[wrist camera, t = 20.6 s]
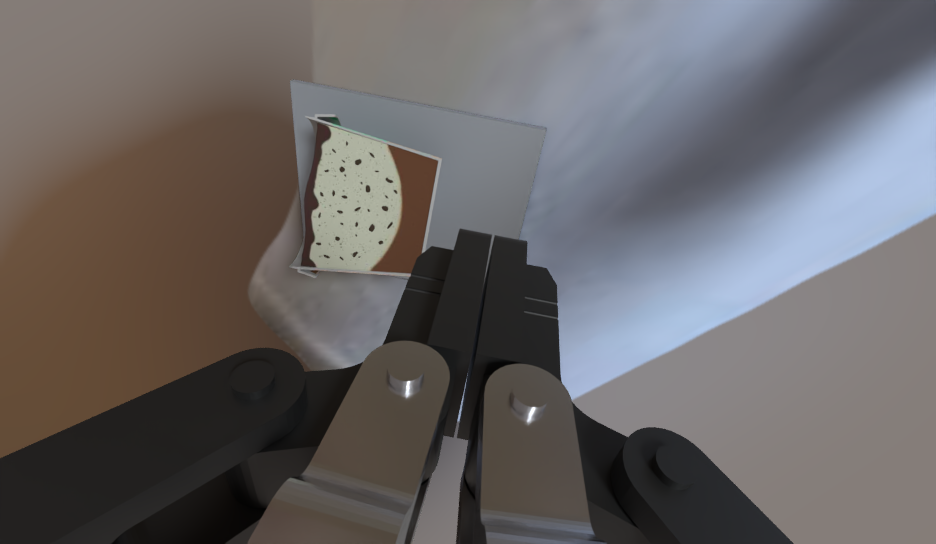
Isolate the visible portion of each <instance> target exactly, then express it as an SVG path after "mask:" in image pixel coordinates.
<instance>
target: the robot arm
mask: <svg viewBox="0 0 936 544" xmlns="http://www.w3.org/2000/svg"><path fill="white" fill-rule="evenodd" d="M491 238H492V235H491V234H486V233H481V232H476V231H471V230H466V229H461V228H460V229H459V232H458V236H457V240H456V243H455V247H454V250H450V249H445V248H440V247H435V246H431V247H430V248H428V249H427V250H426V251H425V252H423V253H422V254H421V255H420V256H418V257H417V259H416V262H415V264H414V267H413V269H412V272H411V276H410V277H409V280H408V282H407V285H406V289H405V290H404V293H403V295H402V298H401V300H400V303H399V305H398V308H397V311H396V313H395V316H394V318H393V321H392V323H391V326H390V329H389V331H388V334H387V336H386V339H385V341H384V343H383V345H382V346H380V347H378V348H376V349H375V350H374V351H372V352H371V353H370V354H369V355H368V356H367V357H366V359H365V360H364V362H362V363H360V364H358V365H355V366H352V367H348V368H344V369H336V370H323V371H309V372H304V369H303V366H302V365H301V363H300V362H299V361H298V360H297V359H296V358H295V357H294V356H292V355H291V354H289V353H287V352H285V351H282V350H278V349H273V348H256V349H249V350H245V351H242V352H239V353H236V354H234V355H231V356H229V357H227V358H225V359H222V360H220V361H218V362H216V363H213V364H211V365H209V366H207V367H205V368H202V369H200V370H198V371H196V372H193V373H191V374H189V375H187V376H184V377H182V378H180V379H178V380H175V381H173V382H171V383H168V384H166V385H164V386H162V387H160V388H157V389H155V390H153V391H150V392H148V393H146V394H144V395H142V396H139V397H137V398H135V399H133V400H130V401H128V402H126V403H124V404H121V405H119V406H117V407H115V408H112V409H110V410H108V411H106V412H103V413H101V414H99V415H97V416H94V417H92V418H90V419H88V420H85V421H83V422H81V423H79V424H76V425H74V426H72V427H70V428H67V429H65V430H63V431H61V432H58V433H56V434H54V435H52V436H49V437H47V438H45V439H43V440H40V441H38V442H36V443H34V444H31V445H29V446H27V447H25V448H22V449H20V450H18V451H16V452H14V453H11V454H9V455H7V456H5V457H3V458H0V544H412V542H413V539H414V536H415V532H416V529H417V525H418V522H419V518H420V514H421V512H422V508H423V505H424V501H425V498H426V494H427V491H428V487H429V484H430V480H431V476H432V473H433V472H434V470H435V468H436V466H437V463H438V460H439V455H440V450H441V445H442V440H443V435H444V436H449V437H454V432H455V428H456V423H457V419H458V414H459V410H460V405H461V401H462V396H463V392H464V387H465V383H466V388H465V394H464V399H463V405H462V411H461V417H460V423H459V429H458V435H457V438H461V439H465V440H468V446H467V453H466V460H465V465H464V469H463V473H462V477H461V482H460V493H459V507H458V522H457V536H456V544H793V543H792V542H791V541H790V539H789V538H787V537H786V535H785V534H784V533H783V532H781V530H780V529H778V528H777V526H776V525H775V524H773V522H772V521H771V520H769V518H768V517H767V516H766V515H765V514H764V513H763V512H762V511H761V510H760V509H759V508H758V507H757V506H756V505H755V504H754V503H753V502H752V501H751V500H750V499H749V498H748V497H747V496H746V495H745V494H744V493H743V492H742V491H741V490H740V489H739V488H738V487H737V486H736V485H735V484H734V483H733V482H732V481H731V480H730V479H729V478H728V477H727V476H726V475H725V474H724V473H723V472H722V471H721V470H720V469H719V468H718V467H717V466H716V465H715V464H714V463H713V462H712V461H711V460H710V459H709V458H708V457H707V456H706V455H705V454H704V453H703V452H702V451H701V450H700V449H699V448H698V447H696V446H695V445H694V444H693V443H691V442H690V441H689V440H687V439H686V438H684V437H682V436H680V435H678V434H676V433H674V432H672V431H669V430H666V429H662V428H655V427H654V428H650V427H649V428H643V429H640V430H637V431H635V432H634V433H632V434H631V435H630V436H629V437H626V436H624V435H622V434H620V433H618V432H616V431H614V430H612V429H610V428H608V427H606V426H604V425H602V424H600V423H598V422H596V421H595V420H593V419H591V418H590V417H588V416H587V415H585V414H584V413H582V411H580V410H579V409H578V408H577V407H576V406H575V405H574V404H573V402H572V401H571V397H570V395H569V393H568V391H567V389H566V388H565V386H564V385H563V384H562V382H561V375H560V352H559V328H558V320H557V319H558V306H557V285H556V283H555V281H554V280H553V278H552V276H551V275H550V273H549V271H548V270H547V268H542V267H537V266H532V265H527V264H526V261H527V241H523V240H518V239H512V238H507V237H502V236H497V235H495V236H494V240H493V245H492V249H491V254H490V258H489V263H488V268H487V272H486V267H487V262H488V256H489V250H490V244H491ZM485 273H486V277H485ZM484 279H485V282H484ZM483 285H484V286H483ZM468 369H469V370H468ZM467 374H468V376H467ZM466 378H467V382H466Z"/></svg>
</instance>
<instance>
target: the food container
mask: <svg viewBox="0 0 936 544" xmlns="http://www.w3.org/2000/svg"><path fill="white" fill-rule="evenodd" d="M305 117H306V118H307V119H308V120H309V121H310V122H311V124H312V127H313V130H314V135H315V142H316V143H315V152H314V159H313V164H312V168H311V172H310V175H309V179H308V182H307V186H306V190H305V196H304V213H305V237H304V240H303V243H302V245H301V248H300V250H299V253H298V255H297V257H296V258H295V260H294V261H293V263H292V264H291V265H290V266H289V267H290V268H294V269H298V272H299V273H302V274H304V275H307V276H310V277H313V278H316V277H317V276H318V274H319V272H320V271H333V272H348V273H362V274H377V275H392V276H407V277H410V276H411V272H412V269H413V267H414V264H415V262H416V259H417V257H418V256H420V255H421V254H422V253H423V252H425V249H426V244H427V238H428V233H429V227H430V222H431V216H432V211H433V206H434V200H435V195H436V189H437V184H438V178H439V173H440V167H441V162H442V158H439V157H436V156H433V155H430V154H427V153H423V152H420V151H417V150H414V149H411V148H408V147H405V146H402V145H398V144H395V143H392V142H389V141H386V140H383V139H380V138H376V137H373V136H370V135H367V134H364V133H361V132H358V131H354V130H351V129H348V128H345V127H342V126H341V123H340V120H339V118H338V116H337V115H336V114H315V117H309V116H305Z"/></svg>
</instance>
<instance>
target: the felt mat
mask: <svg viewBox="0 0 936 544" xmlns="http://www.w3.org/2000/svg"><path fill="white" fill-rule="evenodd" d="M290 87H291V99H292V110H293V122H294V133H295V144H296V156H297V168H298V179H299V191H300V202H301V213H302V225H303V236H304V237H305V213H304V196H305V190H306V186H307V182H308V179H309V175H310V172H311V168H312V164H313V159H314V152H315V143H316V142H315V135H314V130H313V127H312V124H311V122H310V121H309V120H308V119H307V118H306V117H305V116H309V117H315V114H336V115H337V116H338V118H339V120H340V123H341V126H342V127H345V128H348V129H351V130H354V131H358V132H361V133H364V134H367V135H370V136H373V137H376V138H380V139H383V140H386V141H389V142H392V143H395V144H398V145H402V146H405V147H408V148H411V149H414V150H417V151H420V152H423V153H427V154H430V155H433V156H436V157H439V158H442V162H441V167H440V173H439V178H438V184H437V189H436V195H435V200H434V206H433V211H432V216H431V222H430V227H429V233H428V238H427V244H426V249H425V251H426V250H427V249H428V248H430V247H431V246H435V247H440V248H445V249H450V250H454V247H455V243H456V240H457V236H458V232H459V229H460V228H461V229H466V230H471V231H476V232H481V233H486V234H491V235H492V238H491V244H490V250H489V256H488V262H487V267H486V272H487V268H488V263H489V258H490V254H491V249H492V245H493V240H494V236H495V235H497V236H502V237H507V238H512V239H518V240H519V236H520V232H521V228H522V224H523V220H524V216H525V212H526V208H527V204H528V201H529V197H530V193H531V189H532V185H533V181H534V177H535V173H536V169H537V165H538V161H539V158H540V154H541V150H542V146H543V142H544V138H545V134H546V128H545V127H539V126H534V125H529V124H524V123H518V122H513V121H508V120H503V119H498V118H492V117H487V116H482V115H477V114H471V113H466V112H461V111H456V110H451V109H445V108H440V107H435V106H430V105H425V104H419V103H414V102H409V101H404V100H398V99H393V98H388V97H383V96H378V95H372V94H367V93H362V92H357V91H351V90H346V89H341V88H336V87H331V86H325V85H320V84H315V83H309V82H304V81H299V80H294V79H293V80H291V81H290ZM389 276H392V275H389ZM394 277H399V278H404V279H409V277H407V276H394ZM485 277H486V273H485ZM484 282H485V279H484ZM483 286H484V285H483Z"/></svg>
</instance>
